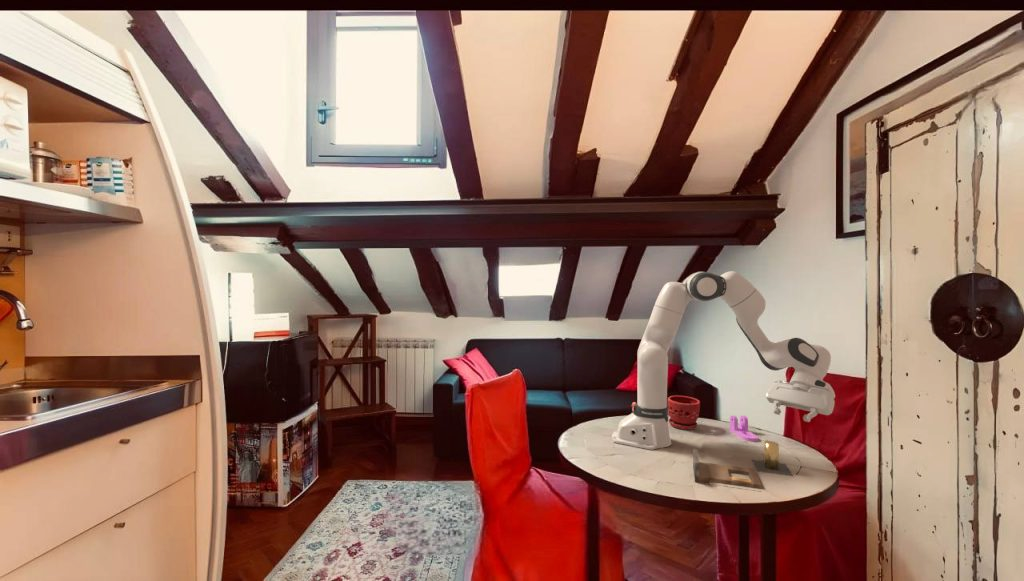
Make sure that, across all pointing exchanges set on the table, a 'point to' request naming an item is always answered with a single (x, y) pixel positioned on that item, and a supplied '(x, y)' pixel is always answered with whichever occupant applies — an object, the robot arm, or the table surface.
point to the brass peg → (771, 455)
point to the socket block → (723, 474)
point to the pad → (761, 468)
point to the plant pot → (683, 411)
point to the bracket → (742, 428)
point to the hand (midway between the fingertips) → (790, 416)
